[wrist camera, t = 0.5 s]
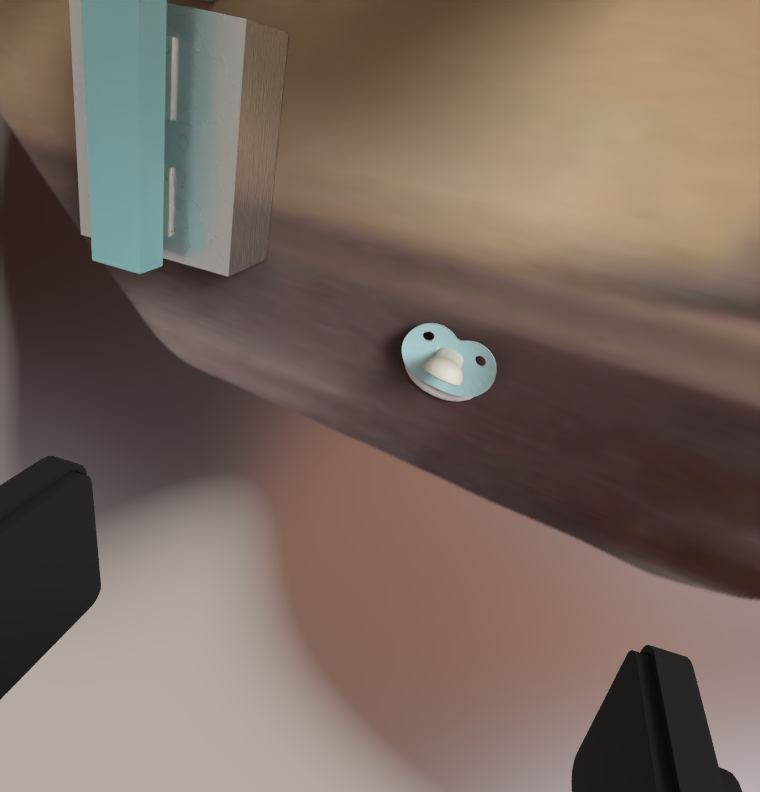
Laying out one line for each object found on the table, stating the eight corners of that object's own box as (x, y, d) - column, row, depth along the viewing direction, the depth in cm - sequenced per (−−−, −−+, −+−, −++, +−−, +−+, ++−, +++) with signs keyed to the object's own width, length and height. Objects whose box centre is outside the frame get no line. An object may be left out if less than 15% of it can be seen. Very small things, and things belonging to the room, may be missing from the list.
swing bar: (183, -47, 38) (61, -102, 29) (233, -37, 38) (125, -91, 28) (176, 235, 47) (81, 263, 37) (216, 246, 46) (130, 277, 37)
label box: (129, 0, 41) (60, -21, 35) (288, 33, 39) (243, 17, 33) (131, 222, 48) (75, 235, 42) (266, 259, 46) (225, 278, 40)
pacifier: (474, 411, 47) (507, 349, 44) (461, 451, 41) (499, 384, 38) (392, 371, 47) (420, 308, 44) (369, 406, 42) (399, 336, 39)
